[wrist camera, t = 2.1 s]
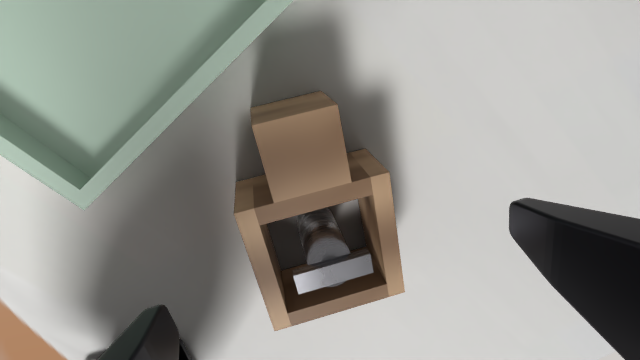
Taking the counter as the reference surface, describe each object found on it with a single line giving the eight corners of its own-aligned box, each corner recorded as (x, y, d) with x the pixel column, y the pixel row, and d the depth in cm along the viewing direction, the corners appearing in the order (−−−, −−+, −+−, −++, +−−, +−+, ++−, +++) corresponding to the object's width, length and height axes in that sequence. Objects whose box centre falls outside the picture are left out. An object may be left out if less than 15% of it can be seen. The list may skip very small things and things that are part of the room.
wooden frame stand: (381, 254, 25) (404, 292, 21) (270, 286, 24) (274, 331, 21) (355, 82, 20) (379, 94, 16) (214, 116, 19) (206, 136, 16)
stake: (348, 228, 24) (375, 281, 19) (289, 244, 23) (301, 303, 18) (341, 197, 23) (368, 244, 18) (280, 213, 22) (290, 266, 17)
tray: (99, 194, 20) (84, 210, 18) (-138, 29, 15) (-190, 29, 13) (299, -8, 18) (305, -12, 16) (96, -265, 13) (72, -312, 11)
